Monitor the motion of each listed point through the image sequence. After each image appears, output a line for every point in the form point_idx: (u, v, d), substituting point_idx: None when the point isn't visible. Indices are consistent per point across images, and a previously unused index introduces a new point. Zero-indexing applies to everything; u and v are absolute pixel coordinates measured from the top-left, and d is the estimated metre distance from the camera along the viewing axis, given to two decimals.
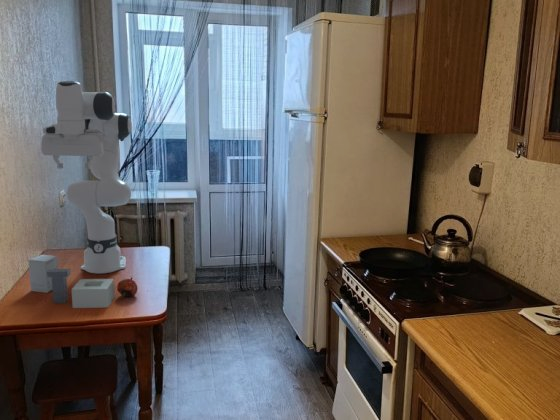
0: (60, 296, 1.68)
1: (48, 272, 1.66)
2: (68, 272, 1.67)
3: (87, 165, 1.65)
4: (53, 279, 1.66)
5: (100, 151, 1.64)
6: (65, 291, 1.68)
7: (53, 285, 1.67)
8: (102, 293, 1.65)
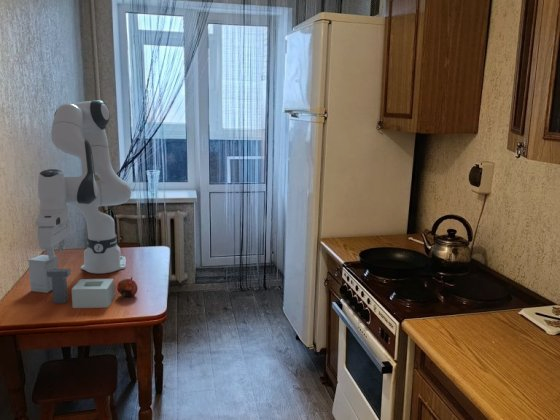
0: (60, 296, 1.68)
1: (48, 272, 1.66)
2: (68, 272, 1.67)
3: (64, 247, 1.70)
4: (53, 279, 1.66)
5: None
6: (65, 291, 1.68)
7: (53, 285, 1.67)
8: (102, 293, 1.65)
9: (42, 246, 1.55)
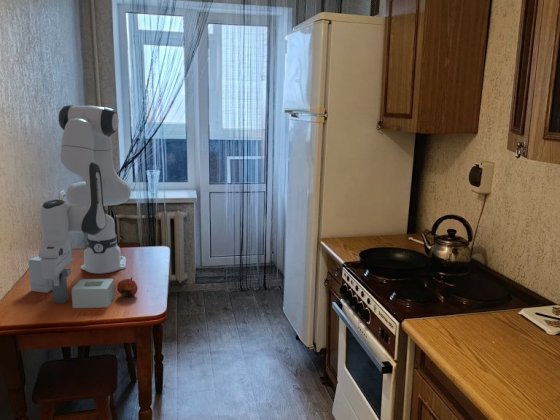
0: (60, 296, 1.68)
1: None
2: (68, 272, 1.67)
3: None
4: None
5: None
6: (65, 291, 1.68)
7: (53, 284, 1.67)
8: (102, 293, 1.65)
9: (45, 277, 1.57)
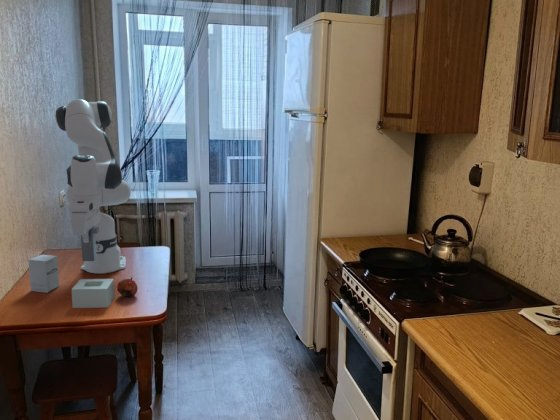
0: (89, 254, 1.65)
1: None
2: (97, 229, 1.64)
3: None
4: None
5: None
6: (94, 248, 1.65)
7: (82, 242, 1.64)
8: (102, 293, 1.65)
9: (75, 231, 1.54)
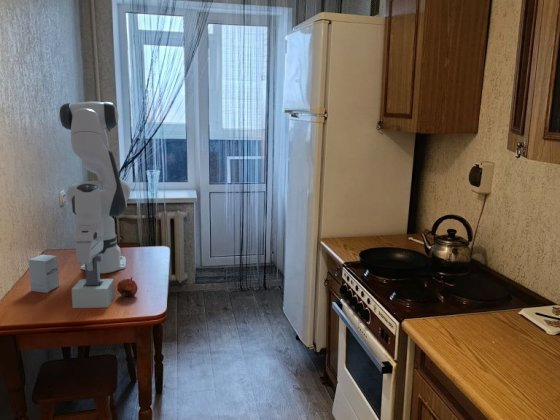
0: (93, 281, 1.67)
1: None
2: (101, 257, 1.66)
3: None
4: None
5: None
6: (98, 276, 1.67)
7: (86, 269, 1.66)
8: (102, 293, 1.65)
9: (80, 261, 1.56)
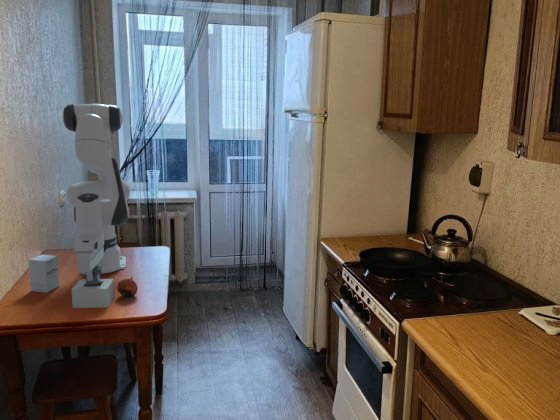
0: None
1: None
2: (102, 270, 1.68)
3: None
4: None
5: None
6: None
7: (87, 282, 1.67)
8: (102, 293, 1.65)
9: (81, 271, 1.57)
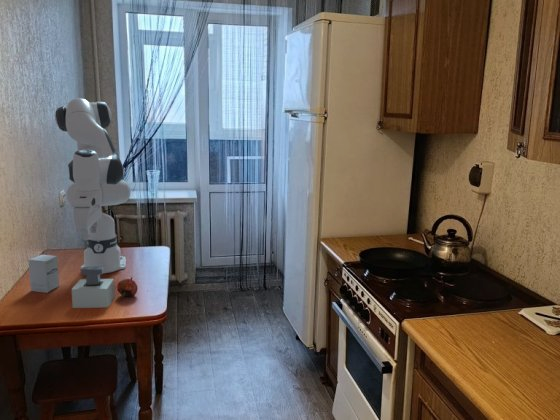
0: None
1: (82, 270, 1.66)
2: (102, 270, 1.68)
3: (96, 229, 1.69)
4: (87, 277, 1.66)
5: None
6: None
7: (87, 282, 1.67)
8: (102, 293, 1.65)
9: (78, 226, 1.54)
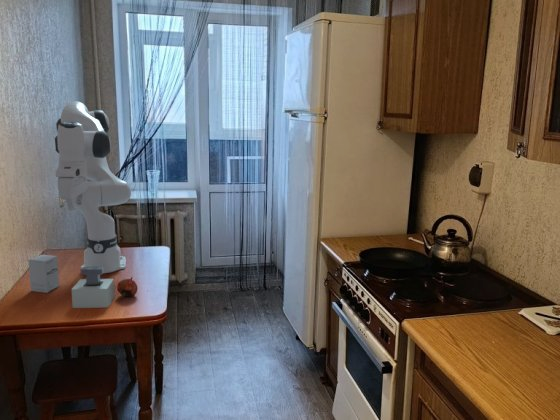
0: None
1: (82, 270, 1.66)
2: (102, 270, 1.68)
3: (82, 201, 1.72)
4: (87, 277, 1.66)
5: None
6: None
7: (87, 282, 1.67)
8: (102, 293, 1.65)
9: (62, 196, 1.56)
